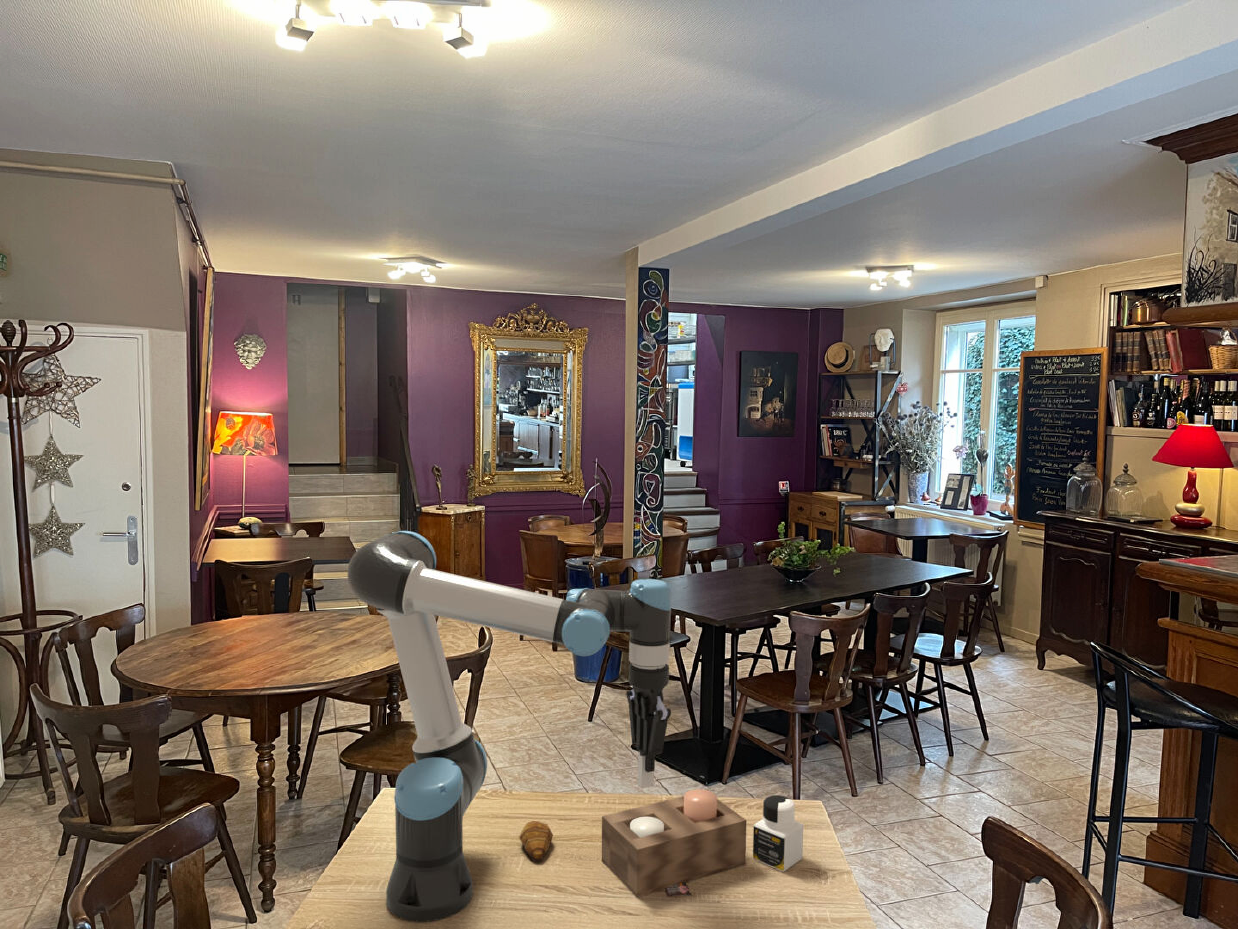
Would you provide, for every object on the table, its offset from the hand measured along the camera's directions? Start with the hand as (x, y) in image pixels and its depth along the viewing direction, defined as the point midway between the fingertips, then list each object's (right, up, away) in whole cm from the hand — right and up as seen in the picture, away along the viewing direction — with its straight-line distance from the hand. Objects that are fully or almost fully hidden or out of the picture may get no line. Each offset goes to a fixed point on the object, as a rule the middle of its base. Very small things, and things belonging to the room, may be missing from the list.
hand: (645, 785), depth 166 cm
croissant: (-22, -16, +10) cm, 29 cm away
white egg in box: (0, -16, +1) cm, 16 cm away
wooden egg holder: (+5, -17, +4) cm, 18 cm away
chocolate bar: (+5, -18, -2) cm, 18 cm away
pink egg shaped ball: (+11, -12, +7) cm, 18 cm away
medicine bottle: (+26, -17, +6) cm, 32 cm away
